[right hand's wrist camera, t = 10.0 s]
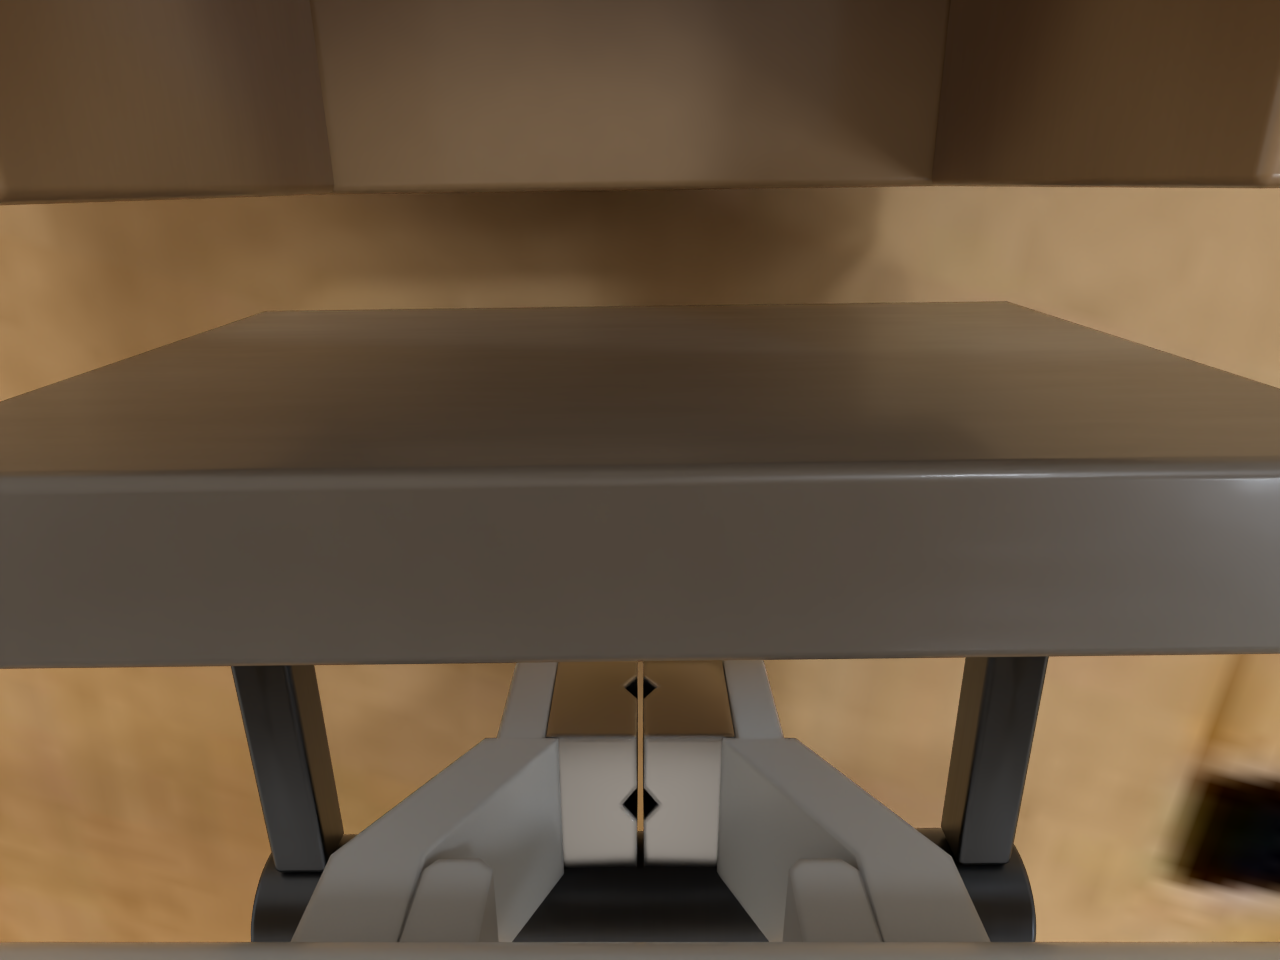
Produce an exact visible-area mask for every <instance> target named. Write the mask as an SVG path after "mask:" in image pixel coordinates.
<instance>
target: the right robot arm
mask: <svg viewBox="0 0 1280 960" xmlns="http://www.w3.org/2000/svg"><path fill="white" fill-rule="evenodd" d="M637 796H638V669H637V661H612V662H527V663H516V666H515V669H514V673H513V677H512V681H511V685H510V689H509V693H508V697H507V700H506V704H505V708H504V712H503V716H502V720H501V724H500V728H499V731H498V735H497V738H485V739H483V740H482V741H481V742H479V743H478V744H477V745H476V746H474V747H473V748H472V749H470V750H469V751H468V752H466V753H465V754H464V755H462V756H461V757H460V758H458V759H457V760H456V761H454V762H453V763H452V764H450V765H449V766H448V767H446V768H445V769H444V770H442V771H441V772H440V773H439V774H437V775H436V776H435V777H433V778H432V779H431V780H429V781H428V782H427V783H425V784H424V785H423V786H421V787H420V788H419V789H417V790H416V791H415V792H413V793H412V794H411V795H409V796H408V797H407V798H405V799H404V800H403V801H402V802H400V803H399V804H398V805H396V806H395V807H394V808H392V809H391V810H390V811H388V812H387V813H386V814H384V815H383V816H382V817H380V818H379V819H378V820H376V821H375V822H374V823H372V824H371V825H370V826H368V827H367V828H366V829H365V830H363V831H362V832H361V833H359V834H358V835H357V836H355V837H354V838H353V839H351V840H350V841H349V842H347V843H346V844H345V845H343V846H342V847H341V848H339V849H338V850H337V851H335V852H334V853H333V854H331V856H330V858H329V860H328V862H327V864H326V866H325V868H324V871H323V873H322V875H321V877H320V879H319V881H318V884H317V886H316V888H315V890H314V892H313V894H312V896H311V899H310V901H309V903H308V905H307V907H306V909H305V912H304V914H303V916H302V918H301V920H300V922H299V925H298V927H297V929H296V931H295V933H294V935H293V937H292V940H291V942H0V960H1280V942H991V941H990V939H989V937H988V935H987V933H986V931H985V928H984V926H983V924H982V922H981V920H980V917H979V915H978V913H977V911H976V909H975V907H974V904H973V902H972V900H971V898H970V896H969V894H968V891H967V889H966V887H965V885H964V883H963V880H962V878H961V876H960V874H959V872H958V870H957V867H956V865H955V863H954V861H953V859H952V856H950V855H949V854H948V853H946V852H945V851H944V850H942V849H941V848H940V847H938V846H937V845H936V844H934V843H933V842H932V841H931V840H929V839H928V838H927V837H925V836H924V835H923V834H921V833H920V832H919V831H917V830H916V829H915V828H913V827H912V826H911V825H909V824H908V823H907V822H905V821H904V820H903V819H902V818H900V817H899V816H898V815H896V814H895V813H894V812H892V811H891V810H890V809H888V808H887V807H886V806H884V805H883V804H882V803H880V802H879V801H878V800H877V799H875V798H874V797H873V796H871V795H870V794H869V793H867V792H866V791H865V790H863V789H862V788H861V787H859V786H858V785H857V784H855V783H854V782H853V781H851V780H850V779H849V778H848V777H846V776H845V775H844V774H842V773H841V772H840V771H838V770H837V769H836V768H834V767H833V766H832V765H830V764H829V763H828V762H826V761H825V760H824V759H823V758H821V757H820V756H819V755H817V754H816V753H815V752H813V751H812V750H811V749H809V748H808V747H807V746H805V745H804V744H803V743H801V742H800V741H799V740H797V739H796V738H784V736H783V732H782V728H781V724H780V721H779V717H778V713H777V709H776V705H775V702H774V698H773V694H772V690H771V686H770V683H769V679H768V675H767V671H766V667H765V664H764V661H763V660H697V661H643V826H644V867H675V868H717V873H718V874H719V876H720V878H721V879H722V880H723V882H724V883H725V884H726V885H727V887H728V888H729V889H730V891H731V892H732V893H733V895H734V896H735V897H736V899H737V900H738V901H739V903H740V904H741V905H742V907H743V908H744V909H745V911H746V912H747V913H748V914H749V916H750V917H751V918H752V920H753V921H754V922H755V924H756V925H757V926H758V928H759V929H760V930H761V932H762V933H763V934H764V936H765V937H766V938H767V940H768V941H769V942H512V941H513V940H514V939H515V937H516V936H517V935H518V933H519V932H520V931H521V929H522V928H523V927H524V925H525V924H526V923H527V922H528V920H529V919H530V918H531V916H532V915H533V914H534V912H535V911H536V910H537V908H538V907H539V906H540V904H541V903H542V902H543V901H544V899H545V898H546V897H547V895H548V894H549V893H550V891H551V890H552V889H553V887H554V886H555V885H556V883H557V882H558V881H559V880H560V878H561V877H562V876H563V874H564V869H590V868H625V867H637Z"/></svg>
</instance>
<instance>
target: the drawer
mask: <svg viewBox="0 0 1280 960" xmlns="http://www.w3.org/2000/svg"><path fill="white" fill-rule="evenodd" d="M892 186H1013V187H1158V188H1280V0H0V205H19V204H49V203H79V202H110V201H140V200H170V199H200V198H230V197H260V196H290V195H320V194H376V193H450V192H523V191H597V190H671V189H744V188H818V187H892ZM1206 654H1280V389H1279V388H1276V387H1273V386H1270V385H1266V384H1263V383H1260V382H1257V381H1254V380H1251V379H1248V378H1245V377H1241V376H1238V375H1235V374H1232V373H1229V372H1226V371H1223V370H1220V369H1216V368H1213V367H1210V366H1207V365H1204V364H1201V363H1198V362H1194V361H1191V360H1188V359H1185V358H1182V357H1179V356H1176V355H1173V354H1169V353H1166V352H1163V351H1160V350H1157V349H1154V348H1151V347H1148V346H1144V345H1141V344H1138V343H1135V342H1132V341H1129V340H1126V339H1123V338H1119V337H1116V336H1113V335H1110V334H1107V333H1104V332H1101V331H1097V330H1094V329H1091V328H1088V327H1085V326H1082V325H1079V324H1076V323H1072V322H1069V321H1066V320H1063V319H1060V318H1057V317H1054V316H1051V315H1047V314H1044V313H1041V312H1038V311H1035V310H1032V309H1029V308H1025V307H1022V306H1019V305H1016V304H1013V303H1010V302H1007V301H1004V302H928V303H852V304H776V305H700V306H624V307H547V308H471V309H395V310H319V311H265V312H262V313H259V314H256V315H253V316H250V317H247V318H244V319H242V320H239V321H236V322H233V323H230V324H227V325H224V326H221V327H218V328H215V329H212V330H209V331H206V332H203V333H200V334H198V335H195V336H192V337H189V338H186V339H183V340H180V341H177V342H174V343H171V344H168V345H165V346H162V347H159V348H157V349H154V350H151V351H148V352H145V353H142V354H139V355H136V356H133V357H130V358H127V359H124V360H121V361H118V362H116V363H113V364H110V365H107V366H104V367H101V368H98V369H95V370H92V371H89V372H86V373H83V374H80V375H77V376H74V377H72V378H69V379H66V380H63V381H60V382H57V383H54V384H51V385H48V386H45V387H42V388H39V389H36V390H33V391H31V392H28V393H25V394H22V395H19V396H16V397H13V398H10V399H7V400H4V401H1V402H0V669H17V668H102V667H187V666H231V669H232V673H233V678H234V683H235V687H236V692H237V696H238V701H239V705H240V710H241V714H242V719H243V724H244V728H245V733H246V737H247V742H248V746H249V751H250V756H251V760H252V765H253V769H254V774H255V778H256V783H257V787H258V792H259V797H260V801H261V806H262V810H263V815H264V819H265V824H266V828H267V833H268V838H269V842H270V847H271V851H272V853H271V854H270V856H269V858H268V860H267V862H266V864H265V867H264V869H263V872H262V874H261V877H260V880H259V884H258V887H257V891H256V895H255V900H254V905H253V912H252V921H251V942H291V940H292V937H293V935H294V933H295V931H296V929H297V927H298V925H299V922H300V920H301V918H302V916H303V914H304V912H305V909H306V907H307V905H308V903H309V901H310V899H311V896H312V894H313V892H314V890H315V888H316V886H317V884H318V881H319V879H320V877H321V875H322V873H323V871H324V868H325V866H326V864H327V862H328V860H329V858H330V856H331V854H333V853H334V852H335V851H337V850H338V849H339V848H341V847H342V846H343V845H345V844H346V843H347V842H349V841H350V840H351V839H353V838H354V837H355V836H357V835H358V834H353V835H343V834H344V831H343V825H342V820H341V814H340V808H339V803H338V797H337V791H336V786H335V780H334V774H333V769H332V763H331V758H330V752H329V746H328V741H327V735H326V729H325V724H324V718H323V713H322V707H321V701H320V696H319V690H318V684H317V679H316V673H315V668H314V665H357V664H442V663H527V662H612V661H697V660H781V659H866V658H951V657H966V659H965V666H964V673H963V679H962V686H961V693H960V700H959V706H958V713H957V720H956V727H955V734H954V740H953V747H952V754H951V761H950V768H949V774H948V781H947V788H946V795H945V802H944V808H943V815H942V822H941V828H915V829H916V830H917V831H919V832H920V833H921V834H923V835H924V836H925V837H927V838H928V839H929V840H931V841H932V842H933V843H934V844H936V845H937V846H938V847H940V848H941V849H942V850H944V851H945V852H946V853H948V854H949V855H950V856H952V859H953V861H954V863H955V865H956V867H957V870H958V872H959V874H960V876H961V878H962V880H963V883H964V885H965V887H966V889H967V891H968V894H969V896H970V898H971V900H972V902H973V904H974V907H975V909H976V911H977V913H978V915H979V917H980V920H981V922H982V924H983V926H984V928H985V931H986V933H987V935H988V937H989V939H990V941H991V942H1035V940H1036V915H1035V907H1034V900H1033V895H1032V890H1031V886H1030V882H1029V879H1028V875H1027V872H1026V869H1025V867H1024V864H1023V861H1022V859H1021V857H1020V855H1019V853H1018V851H1017V849H1016V847H1015V845H1014V844H1013V843H1014V838H1015V832H1016V827H1017V822H1018V816H1019V811H1020V806H1021V800H1022V795H1023V790H1024V785H1025V779H1026V774H1027V769H1028V763H1029V758H1030V753H1031V747H1032V742H1033V737H1034V731H1035V726H1036V721H1037V716H1038V710H1039V705H1040V700H1041V694H1042V689H1043V684H1044V678H1045V673H1046V668H1047V662H1048V657H1049V656H1121V655H1206ZM512 942H769V941H768V940H767V938H766V937H765V936H764V934H763V933H762V932H761V930H760V929H759V928H758V926H757V925H756V924H755V922H754V921H753V920H752V918H751V917H750V916H749V914H748V913H747V912H746V911H745V909H744V908H743V907H742V905H741V904H740V903H739V901H738V900H737V899H736V897H735V896H734V895H733V893H732V892H731V891H730V889H729V888H728V887H727V885H726V884H725V883H724V882H723V880H722V879H721V878H720V876H719V874H718V873H717V868H675V867H644V831H637V867H625V868H590V869H564V874H563V876H562V877H561V878H560V880H559V881H558V882H557V883H556V885H555V886H554V887H553V889H552V890H551V891H550V893H549V894H548V895H547V897H546V898H545V899H544V901H543V902H542V903H541V904H540V906H539V907H538V908H537V910H536V911H535V912H534V914H533V915H532V916H531V918H530V919H529V920H528V922H527V923H526V924H525V925H524V927H523V928H522V929H521V931H520V932H519V933H518V935H517V936H516V937H515V939H514V940H513V941H512Z"/></svg>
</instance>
